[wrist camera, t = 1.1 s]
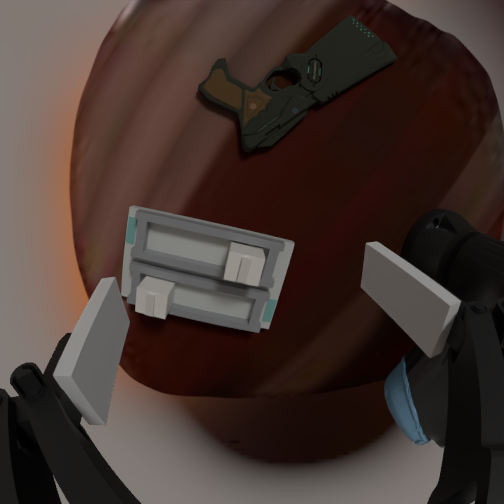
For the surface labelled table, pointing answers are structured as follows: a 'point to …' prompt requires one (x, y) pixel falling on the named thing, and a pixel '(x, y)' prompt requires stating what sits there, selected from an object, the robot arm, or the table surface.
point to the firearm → (309, 82)
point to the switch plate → (202, 268)
